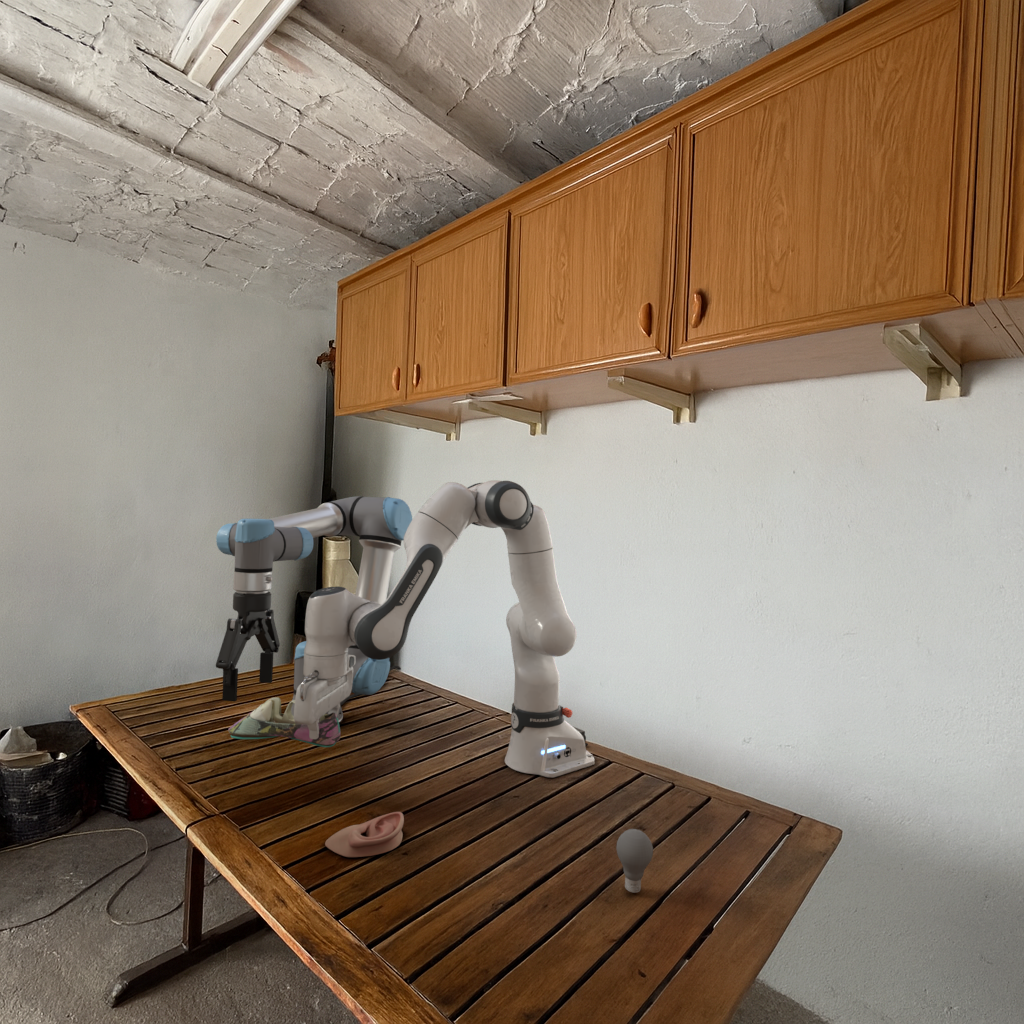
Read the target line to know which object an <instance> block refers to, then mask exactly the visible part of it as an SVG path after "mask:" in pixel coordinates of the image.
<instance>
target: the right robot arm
mask: <svg viewBox="0 0 1024 1024" xmlns="http://www.w3.org/2000/svg"><path fill="white" fill-rule="evenodd" d="M470 525H474V526H478V527H485V528H489V529H497V528H500V529H501V530H502V531H503V533H504V536H505V538H506V546H507V557H508V562H509V563H508V565H509V572H510V573H509V574H510V581H511V585H512V588H513V589H514V591H515V594H516V596H517V600H518V602H516V603H514V604H513V605H512V606H511V607H510V608H509V609H508V611H507V613H506V620H505V623H506V627H507V629H508V633H509V637H510V645H511V653H512V660H513V669H514V687H513V689H514V690H513V703H512V704H511V717H510V722H511V724H510V726H511V732H510V738H509V743H508V747H507V751H506V754H505V757H504V763H505V765H506V766H507V767H509V768H510V769H512V770H513V771H517V772H520V773H523V774H528V775H529V774H530V775H538V776H541V777H545V778H551V779H552V778H557V777H561V776H564V775H566V774H570V773H572V772H576V771H578V770H581V769H586V768H588V767H591V766H593V765H595V763H596V762H595V761H596V760H595V756H593V754H592V753H591V752H589V750H588V749H587V746H589V744H588V742H586V741H587V737H586V731H585V730H583V729H580V728H578V727H576V726H573V725H572V724H570V723H569V722H567V721H566V720H565V718H568V719H569V718H571V717H572V716H573V711H572V709H570V708H568V707H564V706H562V705H561V704H560V703H559V702H560V682H561V681H560V680H561V676H560V672H559V669H558V667H557V663H556V659H555V657H562V656H565V655H566V654H568V653H569V652H570V651H571V650H573V648H574V646H575V644H576V641H577V637H578V636H577V635H578V634H577V633H578V632H577V628H576V626H575V624H574V622H573V621H572V619H571V617H570V615H569V612H568V610H567V607H566V603H565V601H564V598H563V595H562V592H561V591H562V590H561V588H560V584H559V582H558V576H557V569H556V561H555V554H554V545H553V540H552V533H551V529H550V524H549V521H548V518H547V515H546V512H545V511H544V509H543V508H541V506H539V505H536V504H533V503H532V501H531V499H530V496H529V494H528V492H527V491H526V489H525V488H524V487H523V486H521V485H520V484H518V483H517V482H515V481H511V480H496V479H495V480H488V481H485V482H478V483H474V484H472V485H469V486H468V487H467V486H466V485H464V484H462V483H459V482H455V481H448V482H445V483H443V484H442V485H441V486H440V487H438V488H437V489H436V490H435V491H434V492H433V493H432V494H431V496H429V497H428V499H427V500H426V501H425V502H424V503H423V505H422V506H420V508H419V510H418V511H417V512H416V514H415V515H414V516H413V517H412V521H411V523H410V524H409V526H408V528H407V531H406V533H405V535H404V540H403V547H404V550H405V553H406V563H405V564H406V565H405V568H404V570H403V572H402V574H401V575H400V577H399V579H398V580H397V582H395V583H396V584H395V585H394V587H393V588H392V590H391V592H389V595H387V599H386V601H385V602H384V603H383V604H382V605H380V604H378V603H376V602H374V601H370V600H366V599H363V598H361V597H359V596H357V595H355V594H356V593H355V594H354V593H353V592H351V591H349V590H348V589H347V588H346V587H344V586H328V587H323V588H320V589H317V590H315V591H314V592H312V593H311V595H310V596H309V598H308V600H307V604H306V609H305V619H304V634H305V639H306V640H305V641H306V646H305V649H304V668H303V674H304V676H305V677H304V679H303V680H304V681H303V682H302V683H301V684H300V685H299V686H298V688H297V692H296V697H295V706H294V721H295V723H297V724H305V725H307V726H308V728H309V737H310V739H317V738H318V737H320V735H321V728H319V726H318V723H319V719H320V717H322V716H323V715H324V714H326V713H327V712H328V711H329V712H328V714H331V713H335V714H336V716H337V715H338V711H339V708H340V703H341V702H342V701H343V700H345V699H346V698H347V697H349V696H350V695H351V694H352V693H351V690H352V684H353V666H354V665H355V661H356V657H355V656H354V655H349V654H348V648H349V646H351V645H357V646H358V648H359V649H360V651H361V652H362V653H363V654H364V655H365V656H367V657H369V658H371V659H375V660H383V659H387V658H389V659H390V658H392V657H393V656H395V655H396V654H398V653H399V652H400V651H401V649H402V648H403V647H404V645H405V643H406V640H407V637H408V633H409V628H410V625H411V622H412V619H413V617H414V615H415V614H416V611H417V610H418V608H419V606H420V605H421V603H422V602H423V599H425V597H426V595H427V593H428V591H429V590H430V587H431V586H432V584H433V583H434V581H435V579H436V577H437V576H438V573H439V571H440V570H441V568H442V565H443V563H444V562H445V560H446V558H447V557H448V556H449V554H450V552H451V551H452V549H453V548H454V547H455V545H456V543H457V542H458V541H459V539H460V538H461V536H462V535H463V533H464V531H465V530H466V529H467V528H468V527H469V526H470ZM564 716H565V717H564Z"/></svg>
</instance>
